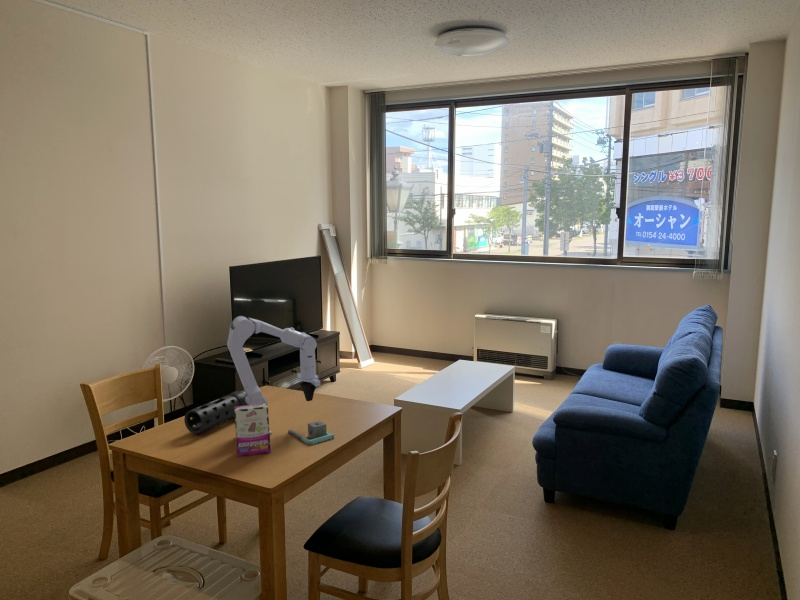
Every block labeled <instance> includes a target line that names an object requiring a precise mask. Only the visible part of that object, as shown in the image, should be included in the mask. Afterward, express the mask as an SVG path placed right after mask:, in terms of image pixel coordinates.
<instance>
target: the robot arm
mask: <svg viewBox="0 0 800 600" xmlns="http://www.w3.org/2000/svg"><path fill="white" fill-rule="evenodd" d="M259 333H264V334H267V335H271V336H274V337H278V338H280V340H281V342H282V343H283V344H287V345H289V346H293V347H296V348H299V362H300V363H299V364H300V369H299V370H300V373H296V380H300V381H301V382H300V383H299V386H300V388H301V389H302V391H303V394H304V395H303V396H304V397H305V401H306V402H311V401H313V398H314V395H315V391H316V389H317V387H321V380H320V379H319V375H317V373H316V370H317V369H316V368H317V367H316V349H317V346H318V343H317V340H316V339H315V337H313V336H311V335H309V334H307V333H306V332H304V331H302V332H300V331H297V330H295V328H294V327H286V328H283V329H282V328H279V327H278V326H274V325H272V324H269V323H267V322H264V321H262V320H259V319H255V318H252V317H248V318H247V317H246V316H243V315H239V316H236V317H235V318H234V319H233V320H232V322H231V323H230V325H229V332H228V337H227V341H226V345H227V346H226V347H227V348H228V350H229V353H230V356H231V359H232V362H233V363H234V366H235V369H236V371H237V373H238V376H239V379H240V382H241V384H242V386H243V391H244V392H245V402H246V403H247V404H248V405H253V404H262V403H267V405H268V399H267V398H266V397H265V396H264V395H263V394H262V391H261V389H260V387H259V386H258V383H257V381H256V379H255V376H254V372H253V371H252V368H251V366H250V363H249V360H248V357H247V355H246V352H245V350H244V348H243V346H244V344H245V342H246V341H247V340H248V339H249V338H250V337H251V336H252V335H253V334H256V335H257V334H259ZM269 433H270V435H271V434H273V432H272V431H271V430H269Z"/></svg>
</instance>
